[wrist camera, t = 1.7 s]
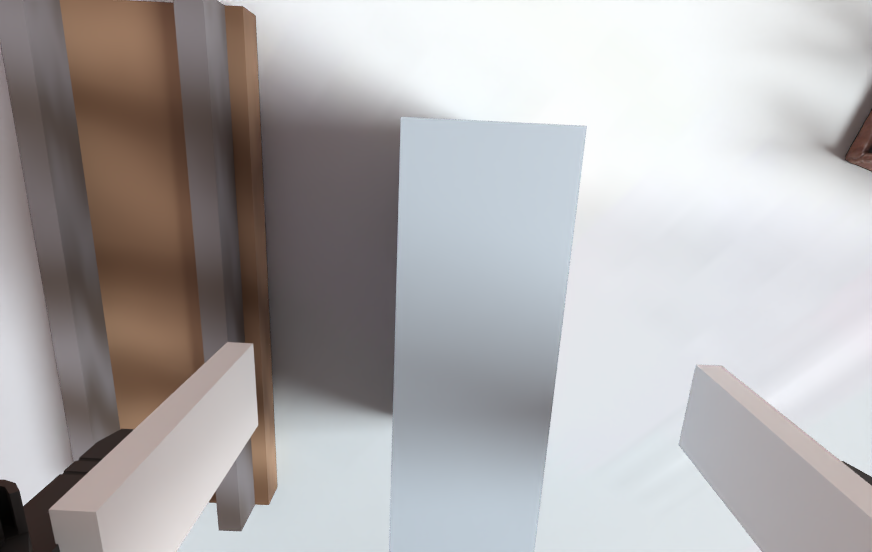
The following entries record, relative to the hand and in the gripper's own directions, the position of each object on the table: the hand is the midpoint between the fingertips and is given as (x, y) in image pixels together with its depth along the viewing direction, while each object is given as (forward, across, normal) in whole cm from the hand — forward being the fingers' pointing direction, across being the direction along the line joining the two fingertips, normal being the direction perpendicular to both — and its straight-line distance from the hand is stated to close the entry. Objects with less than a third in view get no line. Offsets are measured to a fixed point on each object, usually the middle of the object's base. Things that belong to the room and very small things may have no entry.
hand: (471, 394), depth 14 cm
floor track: (+12, +15, 0) cm, 19 cm away
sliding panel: (+12, 0, 0) cm, 12 cm away
